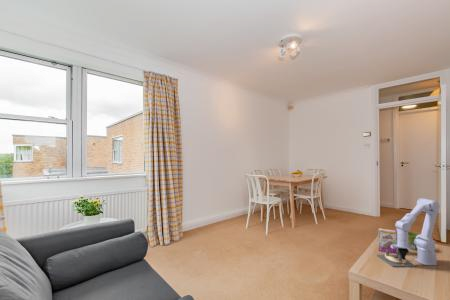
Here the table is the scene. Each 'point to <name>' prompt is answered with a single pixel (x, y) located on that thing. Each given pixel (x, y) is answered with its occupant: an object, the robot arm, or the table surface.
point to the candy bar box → (387, 240)
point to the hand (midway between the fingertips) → (402, 258)
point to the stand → (396, 263)
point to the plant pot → (412, 239)
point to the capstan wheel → (395, 257)
